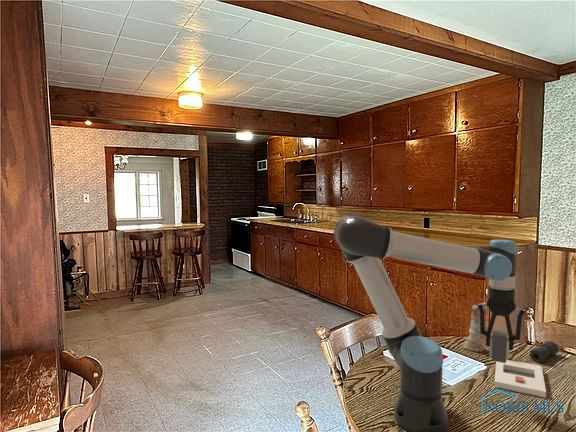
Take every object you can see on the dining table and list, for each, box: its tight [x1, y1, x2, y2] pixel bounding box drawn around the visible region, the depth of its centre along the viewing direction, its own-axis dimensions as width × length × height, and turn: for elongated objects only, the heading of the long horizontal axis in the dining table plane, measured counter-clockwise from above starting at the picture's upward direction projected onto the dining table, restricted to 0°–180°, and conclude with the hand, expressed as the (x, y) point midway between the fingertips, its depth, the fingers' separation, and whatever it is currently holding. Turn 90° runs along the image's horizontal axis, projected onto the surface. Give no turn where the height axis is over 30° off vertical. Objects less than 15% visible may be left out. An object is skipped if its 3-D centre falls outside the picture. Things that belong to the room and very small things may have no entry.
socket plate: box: [493, 359, 547, 398], centre depth 141 cm, size 22×15×3 cm
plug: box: [491, 328, 508, 363], centre depth 128 cm, size 8×4×8 cm, turn 150°
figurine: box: [462, 304, 488, 353], centre depth 167 cm, size 9×8×20 cm
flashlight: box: [529, 340, 560, 364], centre depth 158 cm, size 15×5×5 cm, turn 126°
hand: (498, 357), depth 127 cm, fingers closed on plug, 4 cm apart
